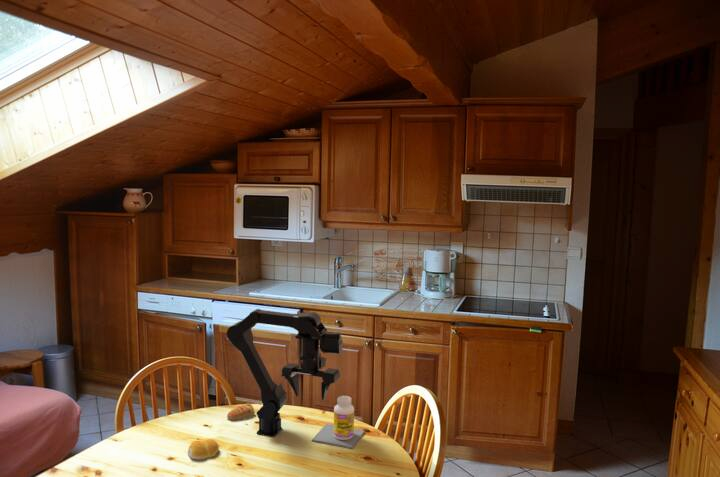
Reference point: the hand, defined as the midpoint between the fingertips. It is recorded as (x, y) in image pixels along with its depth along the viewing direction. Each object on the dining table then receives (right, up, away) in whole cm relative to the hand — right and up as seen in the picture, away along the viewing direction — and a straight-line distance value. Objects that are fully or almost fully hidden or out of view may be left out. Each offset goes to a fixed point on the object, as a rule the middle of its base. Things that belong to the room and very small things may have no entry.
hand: (310, 398), depth 170 cm
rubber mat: (+9, -13, +1) cm, 16 cm away
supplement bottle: (+11, -13, 0) cm, 17 cm away
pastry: (-26, -12, +16) cm, 33 cm away
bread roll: (-32, -14, -11) cm, 37 cm away
